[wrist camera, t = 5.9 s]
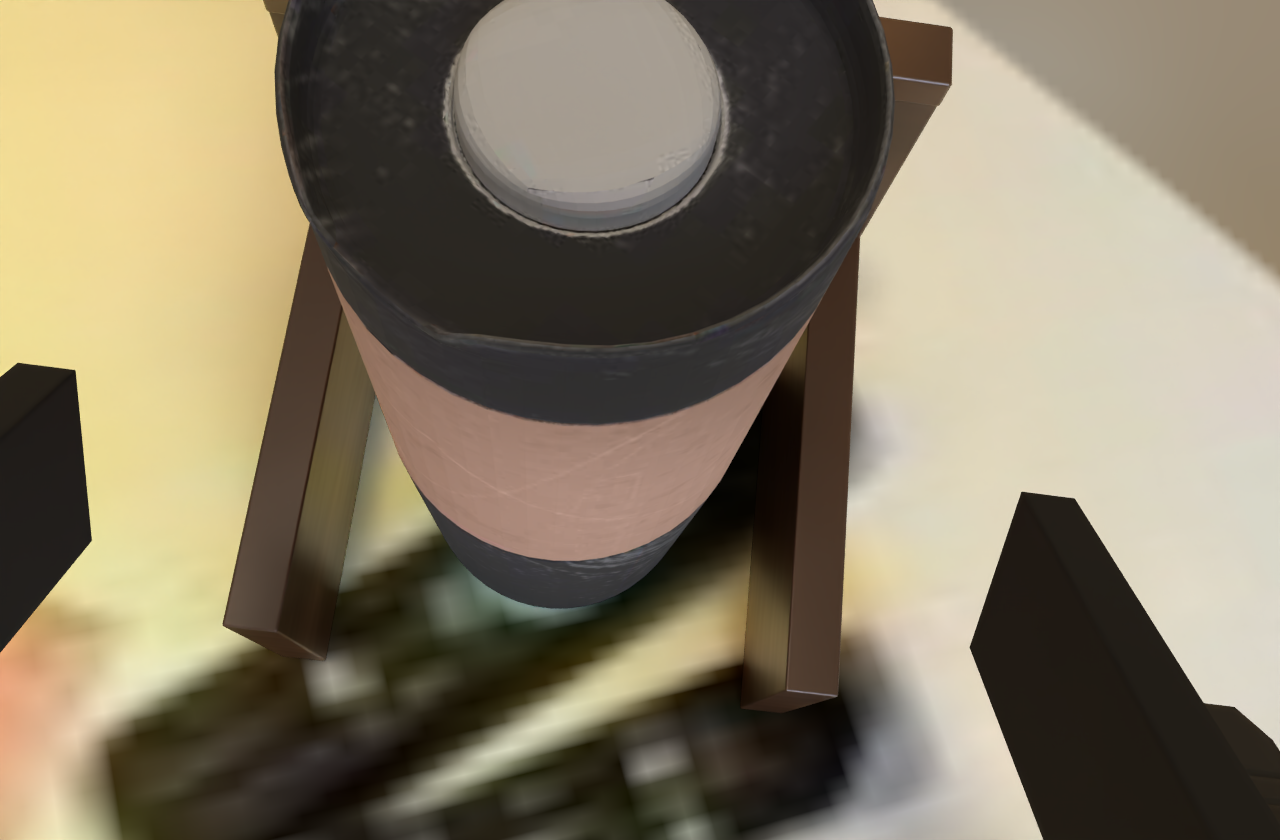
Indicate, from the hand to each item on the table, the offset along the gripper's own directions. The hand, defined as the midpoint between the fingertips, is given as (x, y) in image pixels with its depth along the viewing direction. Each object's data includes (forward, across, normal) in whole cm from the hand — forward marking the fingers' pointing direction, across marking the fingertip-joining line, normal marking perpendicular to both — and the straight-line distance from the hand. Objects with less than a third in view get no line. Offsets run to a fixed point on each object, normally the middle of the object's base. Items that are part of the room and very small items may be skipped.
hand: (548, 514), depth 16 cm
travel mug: (+14, 0, -8) cm, 17 cm away
